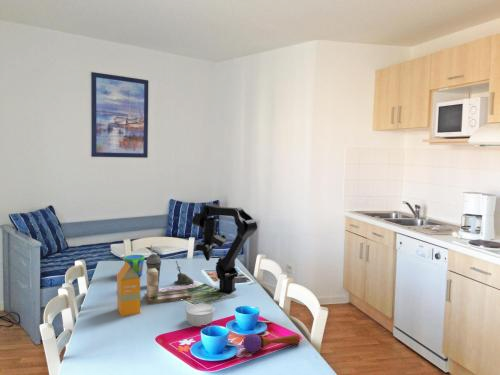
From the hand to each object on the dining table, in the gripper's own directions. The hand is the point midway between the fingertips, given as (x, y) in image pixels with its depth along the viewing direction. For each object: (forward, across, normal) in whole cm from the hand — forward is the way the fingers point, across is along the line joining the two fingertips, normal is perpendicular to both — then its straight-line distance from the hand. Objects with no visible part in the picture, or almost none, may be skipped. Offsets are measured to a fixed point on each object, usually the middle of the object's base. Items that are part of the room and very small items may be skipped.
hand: (207, 260), depth 211 cm
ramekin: (+10, -44, -16) cm, 48 cm away
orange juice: (+12, -44, +16) cm, 48 cm away
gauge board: (+12, -25, +8) cm, 29 cm away
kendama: (+8, -57, -48) cm, 74 cm away
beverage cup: (+13, -11, +23) cm, 29 cm away
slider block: (+10, -30, +13) cm, 34 cm away
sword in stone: (+13, -2, +11) cm, 17 cm away
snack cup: (+15, 0, +41) cm, 44 cm away
